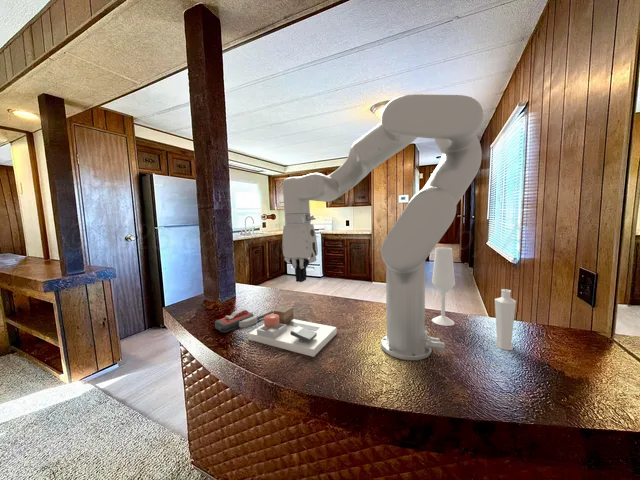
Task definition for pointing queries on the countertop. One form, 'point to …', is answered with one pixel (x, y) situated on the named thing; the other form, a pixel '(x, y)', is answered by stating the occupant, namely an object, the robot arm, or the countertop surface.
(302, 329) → the rocker switch
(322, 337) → the control panel
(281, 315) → the slider knob
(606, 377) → the countertop surface
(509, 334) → the perfume bottle
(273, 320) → the push button
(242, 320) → the gray red lever tool
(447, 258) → the champagne flute
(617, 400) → the countertop surface
